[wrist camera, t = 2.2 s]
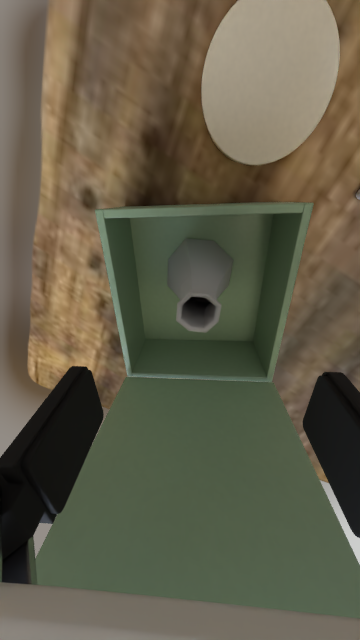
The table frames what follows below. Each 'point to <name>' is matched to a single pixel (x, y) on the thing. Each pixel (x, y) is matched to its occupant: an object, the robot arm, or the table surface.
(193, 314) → the flask
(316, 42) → the coaster
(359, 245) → the table surface
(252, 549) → the box lid
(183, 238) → the box
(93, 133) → the table surface
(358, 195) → the game controller
